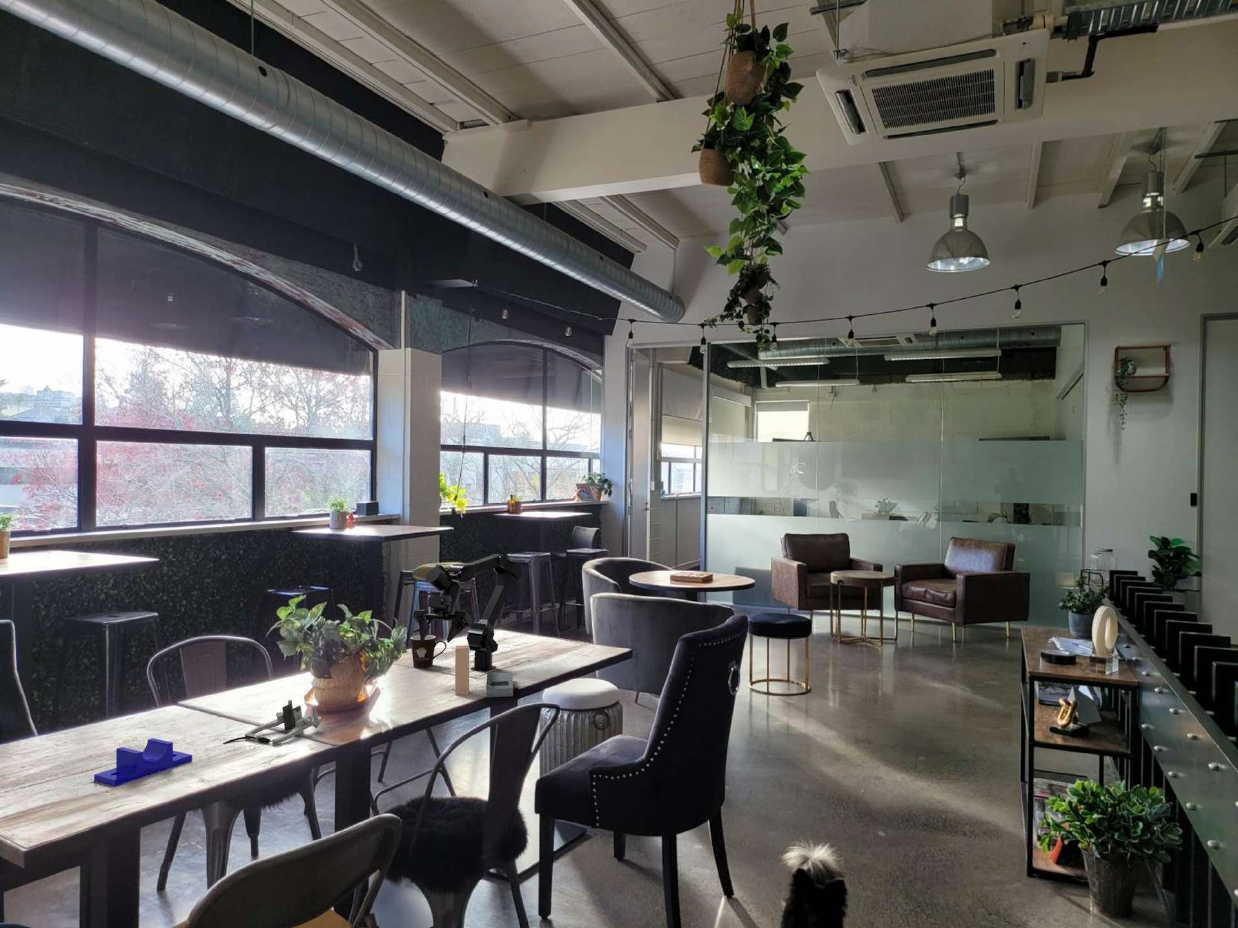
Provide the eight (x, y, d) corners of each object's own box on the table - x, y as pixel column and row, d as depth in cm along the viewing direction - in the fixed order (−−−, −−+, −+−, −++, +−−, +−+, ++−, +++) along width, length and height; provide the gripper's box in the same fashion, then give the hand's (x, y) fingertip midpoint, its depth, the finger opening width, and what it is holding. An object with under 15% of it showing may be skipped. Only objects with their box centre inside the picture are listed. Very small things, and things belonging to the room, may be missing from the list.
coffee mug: (405, 667, 286) (405, 638, 287) (420, 662, 294) (420, 634, 295) (433, 670, 282) (433, 641, 282) (447, 665, 290) (448, 636, 290)
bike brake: (291, 719, 222) (224, 752, 204) (288, 695, 221) (220, 726, 204) (327, 728, 215) (260, 762, 198) (324, 703, 214) (257, 735, 197)
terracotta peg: (455, 691, 254) (456, 645, 254) (469, 691, 255) (469, 645, 255) (455, 695, 250) (455, 648, 250) (468, 694, 251) (468, 648, 251)
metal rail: (487, 681, 267) (487, 673, 267) (512, 680, 268) (512, 672, 269) (486, 697, 248) (486, 688, 248) (513, 696, 249) (513, 687, 249)
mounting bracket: (114, 788, 176) (114, 759, 176) (94, 782, 179) (94, 754, 179) (192, 762, 192) (192, 736, 192) (172, 757, 195) (172, 732, 195)
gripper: (412, 585, 267) (397, 628, 258) (465, 585, 262) (451, 629, 252) (426, 602, 275) (412, 645, 266) (478, 603, 270) (465, 647, 260)
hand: (434, 641), depth 261 cm, fingers open, 9 cm apart
